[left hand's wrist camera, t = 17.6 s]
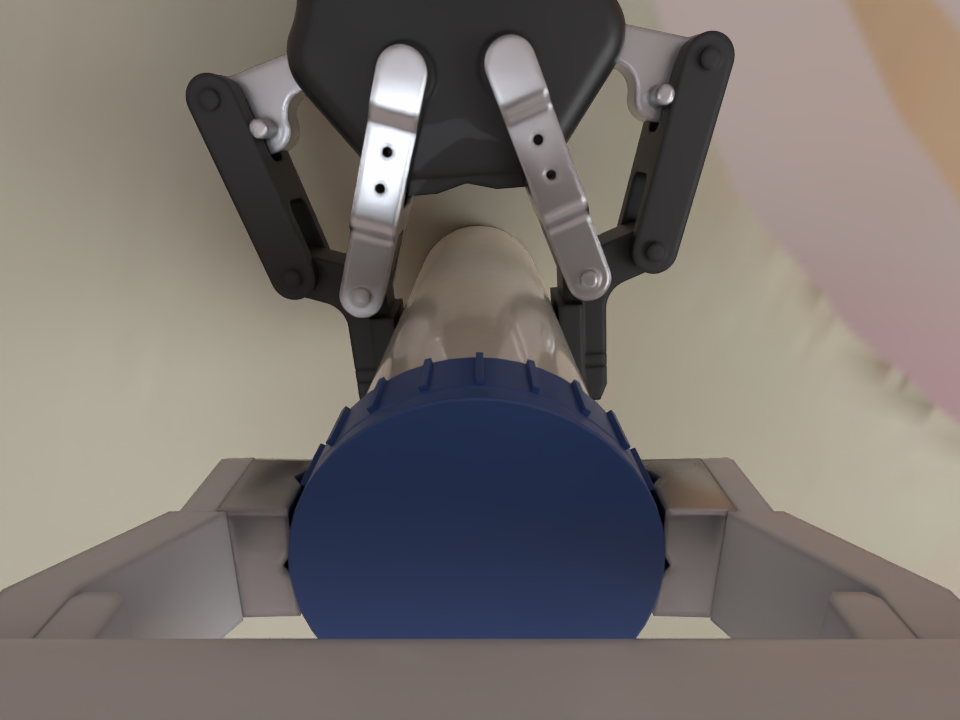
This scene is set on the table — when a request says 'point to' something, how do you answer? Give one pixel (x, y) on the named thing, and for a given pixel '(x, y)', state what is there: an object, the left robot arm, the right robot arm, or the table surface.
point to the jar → (478, 308)
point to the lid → (476, 512)
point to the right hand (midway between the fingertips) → (485, 413)
